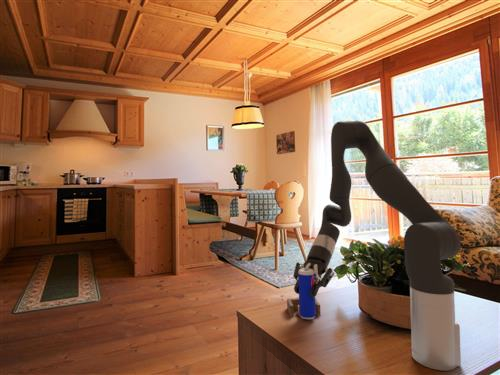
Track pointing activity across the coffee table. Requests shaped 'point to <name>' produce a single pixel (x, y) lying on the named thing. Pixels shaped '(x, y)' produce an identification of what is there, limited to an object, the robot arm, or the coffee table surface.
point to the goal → (294, 304)
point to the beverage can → (306, 293)
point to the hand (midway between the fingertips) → (303, 294)
